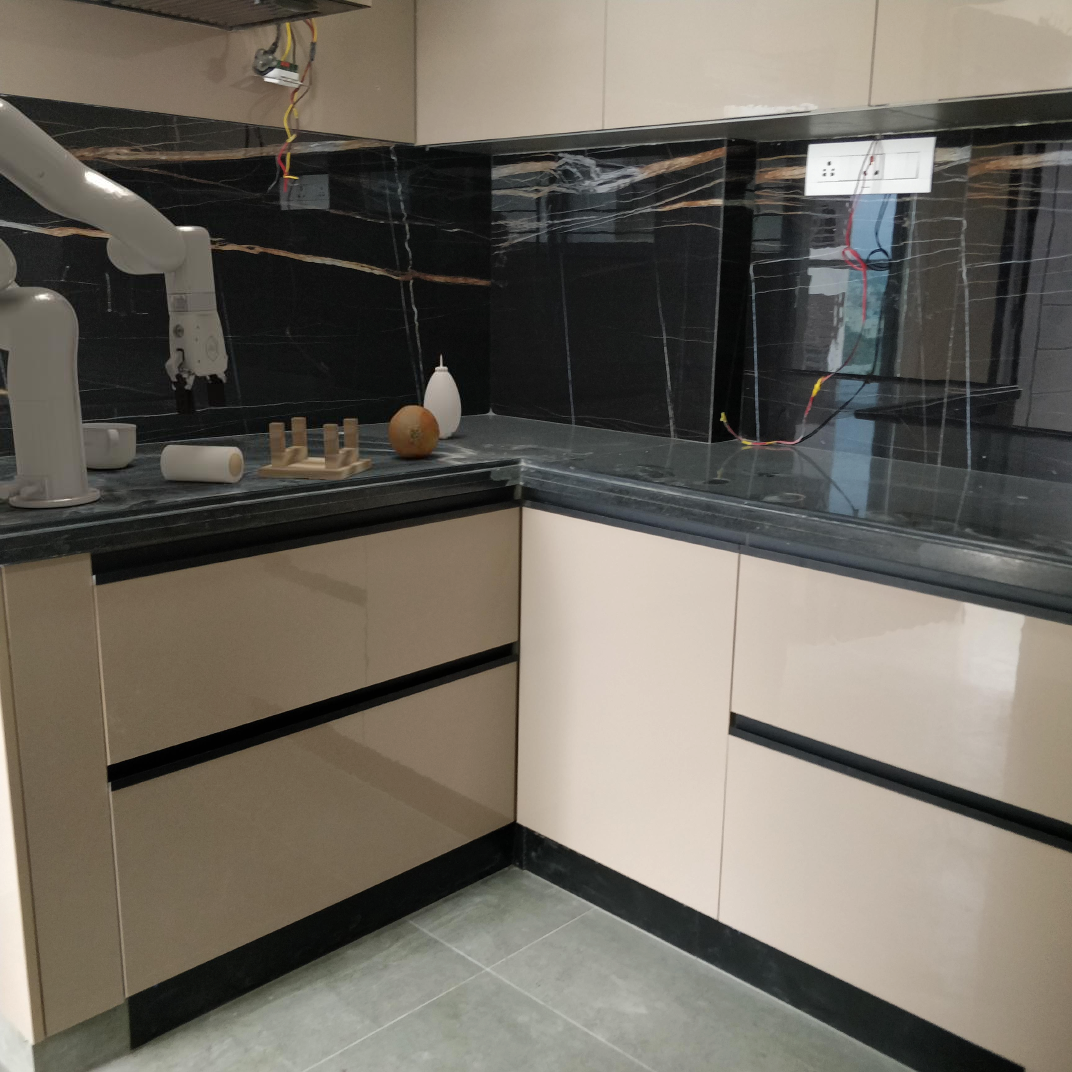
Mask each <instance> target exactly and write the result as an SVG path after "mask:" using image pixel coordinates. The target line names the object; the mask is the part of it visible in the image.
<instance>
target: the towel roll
mask: <svg viewBox="0 0 1072 1072" xmlns="http://www.w3.org/2000/svg"><path fill="white" fill-rule="evenodd" d="M159 463H160V464H159V465H160V471H161V473H162V475H163V477H164V479H166V480H167V481H177V482H179V481H180V482H199V483H200V482H203V483H204V482H205V483H227V484H230V483H231V484H234V483H237V482H239V481H240V480H241V478H242V477H243V473H244V465H245V461H244V457H243V453H242V451H241V449H239V448H238V447H237V446H213V445H211V446H210V445H208V446H207V445H185V444H184V445H183V444H182V445H181V444H169V445H166V447H164V448H163V450H162V452H161V455H160V462H159Z"/></svg>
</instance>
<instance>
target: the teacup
mask: <svg viewBox="0 0 1072 1072" xmlns="http://www.w3.org/2000/svg"><path fill="white" fill-rule="evenodd" d="M82 427H83V437H84V448H85V458H86V468H89V469H94V470H95V469H96V470H102V469H103V470H104V469H105V470H107V469H108V470H110V469H120V468H121V469H122V468H125V467H127V466H128V464H129V463H131V462H132V461H133V460H134V458H135V456H136V451H137V450H136V449H137V434H136V433H137V431H136V429H137V425H136V424H132V423H116V422H114V423H113V422H112V423H111V422H110V423H109V422H94V423H93V422H92V423H91V422H90V423H89V422H87V423H86V422H85V423H82Z"/></svg>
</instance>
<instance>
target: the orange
mask: <svg viewBox="0 0 1072 1072" xmlns="http://www.w3.org/2000/svg"><path fill="white" fill-rule="evenodd" d="M387 432H388V440H389V444H390V446H391V447H392V449H393V450H394V451H395V452H396V453H397V454H398V455H400V456H401V457H405V458H416V459H420V458H421V459H422V458H425V457H428V456H429V455H431V453H433V452H434V451H435V449H436V448H437V446H438V444H439V443H438V442H439V434H440V430H439V425H438V422H437V420H436V418H435V417H434V415H433V414H432V413H431V412H430V411H429V410H428V409H426V408H424V406H420V405H405V406H403V407H402V408H400V409H399V411H397V412H396V414H394V416H392V418H391V420H390V422H389V425H388V430H387Z"/></svg>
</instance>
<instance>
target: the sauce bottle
mask: <svg viewBox="0 0 1072 1072" xmlns="http://www.w3.org/2000/svg"><path fill="white" fill-rule="evenodd" d="M439 359H440V360H439V362H440V363H439V364H440V365H439V366H437V367H435V369H434V370H435V371H434V373H433V374H432V375H431V377H430V378H429V381H428V384H427V386H426V389H425V394H424V399H423V408H426V409H428V410H429V411H430V412H431V413H432V414H433V415H434V417H435V418H436V420H437V422H438V425H439V430H440V434H439V439H441V440H443V439H444V440H445V439H448V438H449V437H452V433H454V432H456V431H457V429H458V427H459V424H460V422H461V416H462V404H461V397H460V394H459V390H458V387H457V385H456V382H455V380H454V378H453V376H452V375H451V373H450V372H449V369H448V367H447V366H443V355H442V354H440V357H439Z"/></svg>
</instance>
